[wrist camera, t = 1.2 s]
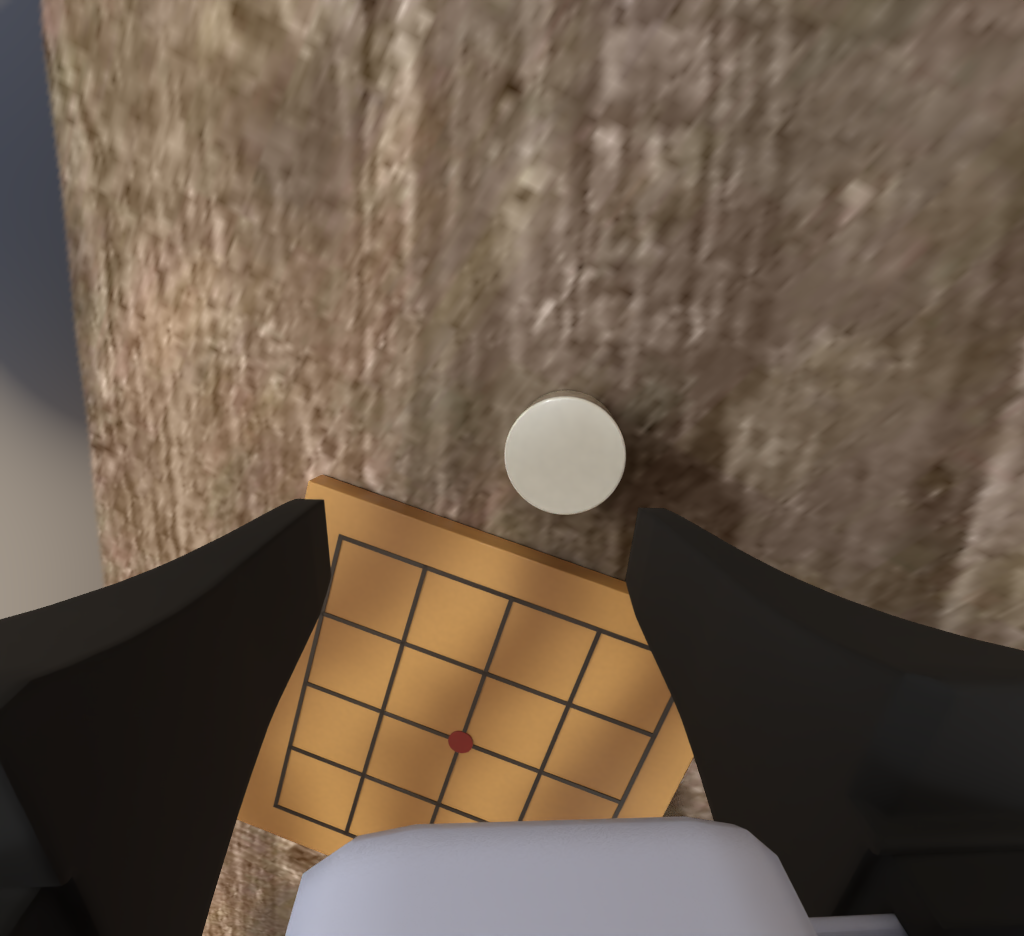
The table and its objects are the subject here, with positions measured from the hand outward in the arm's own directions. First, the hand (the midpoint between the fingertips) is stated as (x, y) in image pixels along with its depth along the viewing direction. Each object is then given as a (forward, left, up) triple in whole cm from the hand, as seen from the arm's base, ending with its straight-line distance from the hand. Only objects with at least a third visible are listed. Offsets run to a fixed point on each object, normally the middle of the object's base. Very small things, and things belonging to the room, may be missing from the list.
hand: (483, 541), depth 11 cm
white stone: (-1, -1, -10) cm, 10 cm away
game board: (-1, +14, -10) cm, 17 cm away
